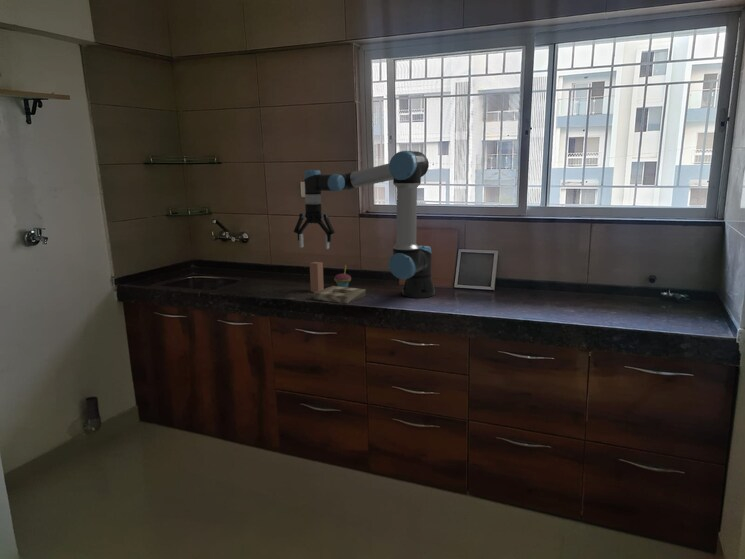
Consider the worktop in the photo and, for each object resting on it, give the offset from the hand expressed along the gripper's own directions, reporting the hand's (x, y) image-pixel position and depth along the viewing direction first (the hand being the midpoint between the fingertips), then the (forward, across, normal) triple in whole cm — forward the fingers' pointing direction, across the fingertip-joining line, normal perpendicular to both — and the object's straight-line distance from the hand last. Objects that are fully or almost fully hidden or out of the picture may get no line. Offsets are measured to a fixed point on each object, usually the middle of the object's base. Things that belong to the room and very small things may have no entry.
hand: (314, 248), depth 251 cm
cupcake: (+21, -10, -10) cm, 25 cm away
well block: (+21, -17, +10) cm, 28 cm away
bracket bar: (+21, -1, +1) cm, 21 cm away
